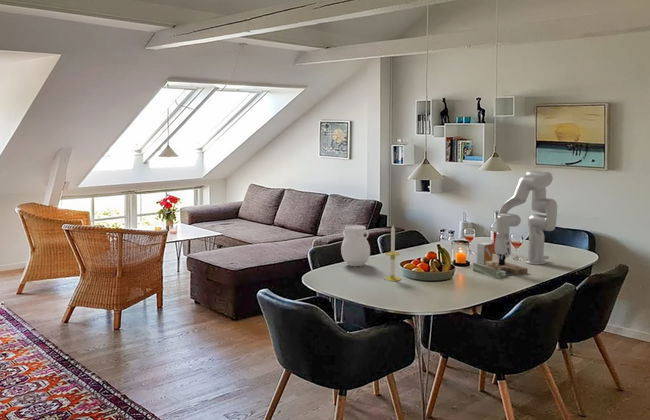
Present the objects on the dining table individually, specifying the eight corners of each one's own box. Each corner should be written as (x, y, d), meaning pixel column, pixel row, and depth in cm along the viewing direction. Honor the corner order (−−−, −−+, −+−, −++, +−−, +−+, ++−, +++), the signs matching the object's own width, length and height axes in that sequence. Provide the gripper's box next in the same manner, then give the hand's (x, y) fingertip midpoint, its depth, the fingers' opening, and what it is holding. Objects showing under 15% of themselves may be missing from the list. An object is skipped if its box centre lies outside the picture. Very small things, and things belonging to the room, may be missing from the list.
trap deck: (504, 266, 405) (504, 258, 405) (527, 273, 388) (527, 265, 387) (472, 270, 394) (473, 262, 394) (494, 278, 377) (495, 269, 376)
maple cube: (491, 267, 391) (492, 260, 391) (497, 268, 387) (497, 262, 386) (485, 268, 389) (485, 261, 388) (490, 269, 385) (491, 263, 384)
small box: (483, 264, 410) (484, 244, 408) (476, 263, 415) (477, 243, 413) (492, 263, 414) (493, 243, 412) (485, 261, 420) (485, 241, 418)
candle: (396, 282, 369) (397, 226, 364) (380, 279, 374) (381, 224, 369) (403, 278, 377) (404, 223, 372) (388, 276, 382) (389, 222, 378)
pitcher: (336, 267, 405) (336, 228, 402) (346, 261, 422) (346, 223, 419) (364, 269, 398) (364, 230, 395) (373, 263, 415) (374, 225, 412)
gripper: (516, 237, 383) (515, 267, 386) (499, 233, 396) (498, 262, 399) (506, 238, 380) (505, 268, 383) (489, 234, 393) (488, 263, 396)
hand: (501, 265), depth 391 cm, fingers closed
